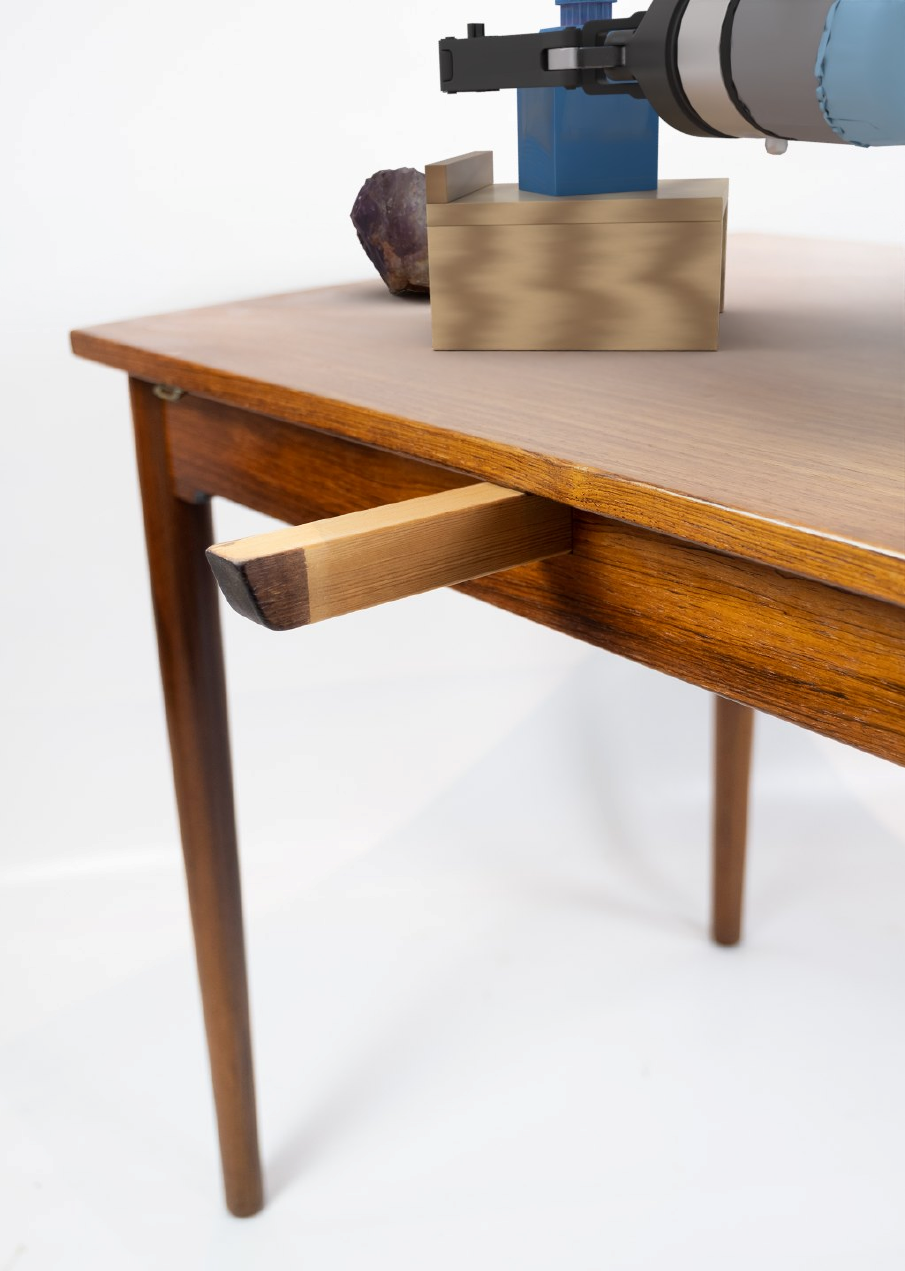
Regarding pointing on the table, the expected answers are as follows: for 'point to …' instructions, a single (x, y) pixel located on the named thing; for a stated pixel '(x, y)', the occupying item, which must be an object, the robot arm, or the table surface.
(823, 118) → the robot arm
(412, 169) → the rock
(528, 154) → the perfume bottle
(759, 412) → the table surface
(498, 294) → the wooden box with backstop
